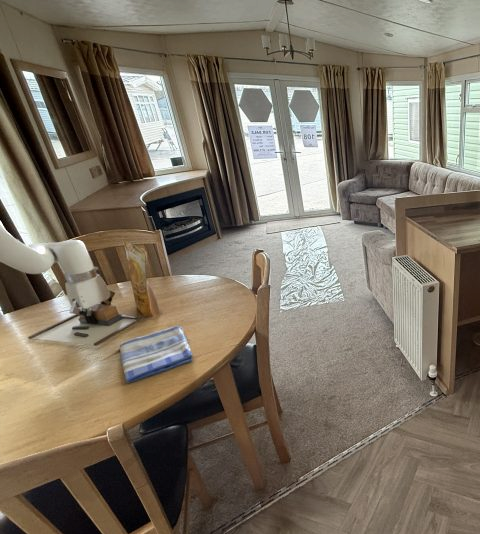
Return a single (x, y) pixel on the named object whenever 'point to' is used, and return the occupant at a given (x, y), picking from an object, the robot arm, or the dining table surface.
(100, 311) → the eraser
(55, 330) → the memo board
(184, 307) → the dining table surface
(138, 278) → the pancake mix bag
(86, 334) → the stroke
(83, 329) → the stroke
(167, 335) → the dish towel
